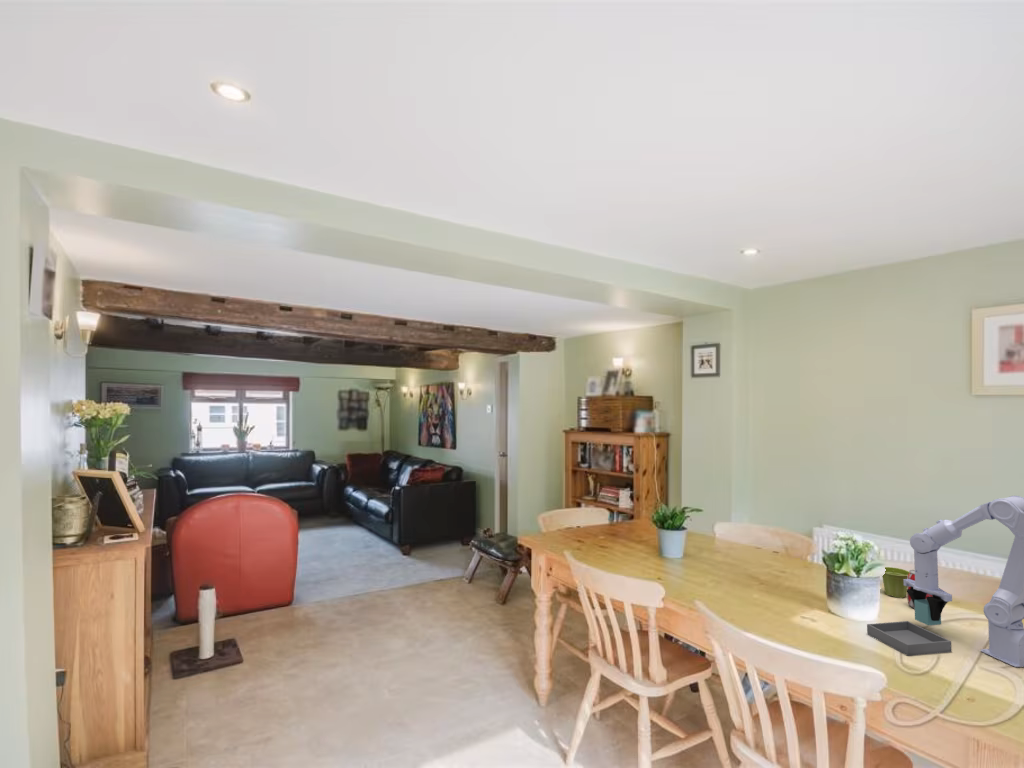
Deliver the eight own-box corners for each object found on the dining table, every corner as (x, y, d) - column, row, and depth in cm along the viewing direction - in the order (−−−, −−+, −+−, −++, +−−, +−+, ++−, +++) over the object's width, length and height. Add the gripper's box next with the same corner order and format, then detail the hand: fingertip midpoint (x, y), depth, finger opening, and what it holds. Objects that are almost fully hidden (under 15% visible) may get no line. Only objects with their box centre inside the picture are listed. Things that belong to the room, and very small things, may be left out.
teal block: (941, 624, 163) (940, 604, 163) (928, 625, 162) (927, 605, 163) (927, 618, 167) (926, 598, 168) (914, 619, 167) (914, 599, 167)
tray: (951, 652, 151) (951, 641, 151) (907, 655, 149) (907, 644, 149) (907, 630, 165) (907, 621, 165) (867, 634, 163) (867, 624, 163)
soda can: (908, 602, 188) (907, 567, 188) (934, 607, 183) (933, 571, 184) (907, 608, 182) (906, 573, 183) (933, 613, 178) (932, 577, 178)
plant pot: (917, 600, 189) (916, 575, 190) (887, 598, 191) (886, 574, 192) (903, 591, 199) (902, 567, 199) (875, 589, 201) (874, 566, 201)
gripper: (894, 565, 172) (896, 608, 172) (936, 580, 158) (938, 627, 157) (913, 564, 173) (915, 607, 173) (957, 579, 159) (959, 625, 158)
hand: (927, 617), depth 165 cm, fingers closed on teal block, 4 cm apart
